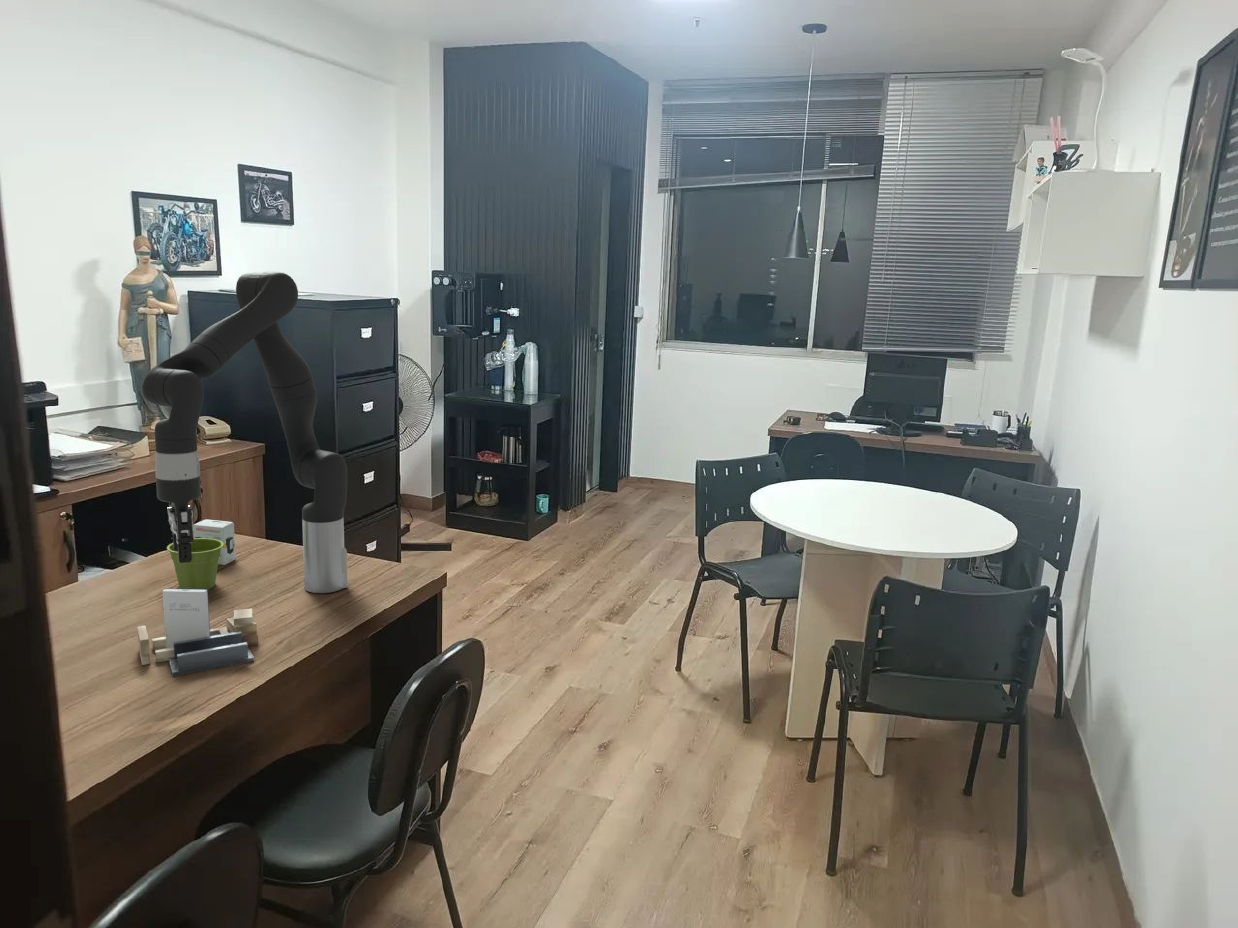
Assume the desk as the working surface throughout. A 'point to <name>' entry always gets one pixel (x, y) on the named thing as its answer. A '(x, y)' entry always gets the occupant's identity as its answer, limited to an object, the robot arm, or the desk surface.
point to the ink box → (218, 537)
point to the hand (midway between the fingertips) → (182, 555)
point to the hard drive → (185, 614)
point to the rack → (162, 645)
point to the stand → (209, 653)
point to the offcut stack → (243, 626)
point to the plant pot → (198, 564)
